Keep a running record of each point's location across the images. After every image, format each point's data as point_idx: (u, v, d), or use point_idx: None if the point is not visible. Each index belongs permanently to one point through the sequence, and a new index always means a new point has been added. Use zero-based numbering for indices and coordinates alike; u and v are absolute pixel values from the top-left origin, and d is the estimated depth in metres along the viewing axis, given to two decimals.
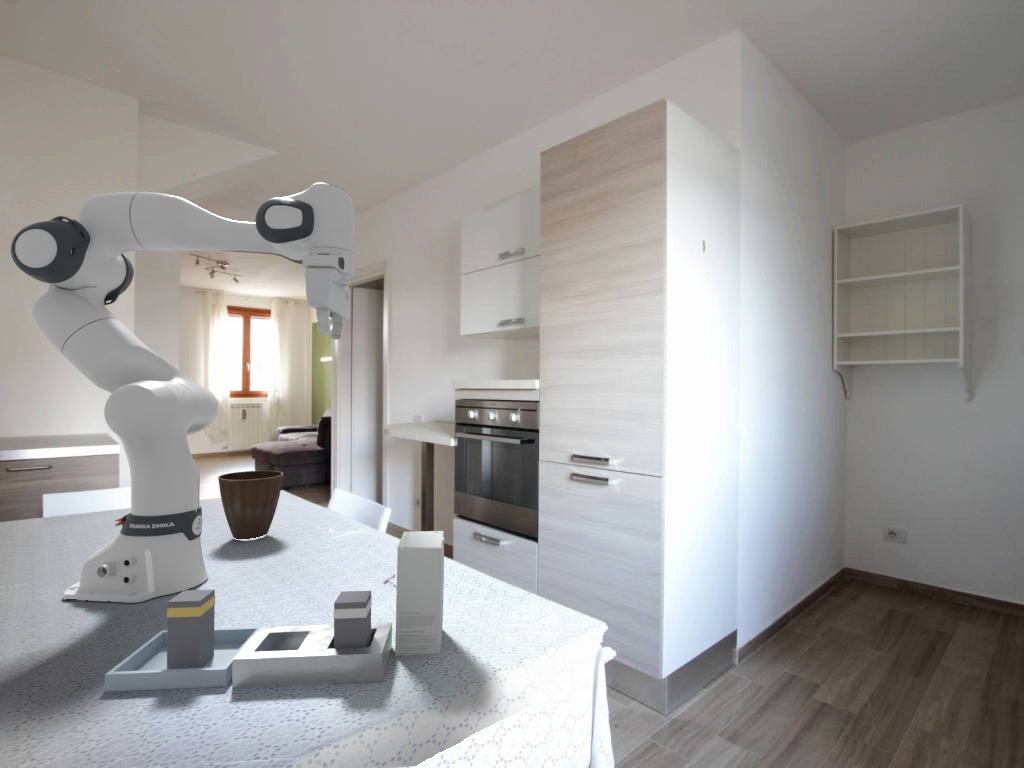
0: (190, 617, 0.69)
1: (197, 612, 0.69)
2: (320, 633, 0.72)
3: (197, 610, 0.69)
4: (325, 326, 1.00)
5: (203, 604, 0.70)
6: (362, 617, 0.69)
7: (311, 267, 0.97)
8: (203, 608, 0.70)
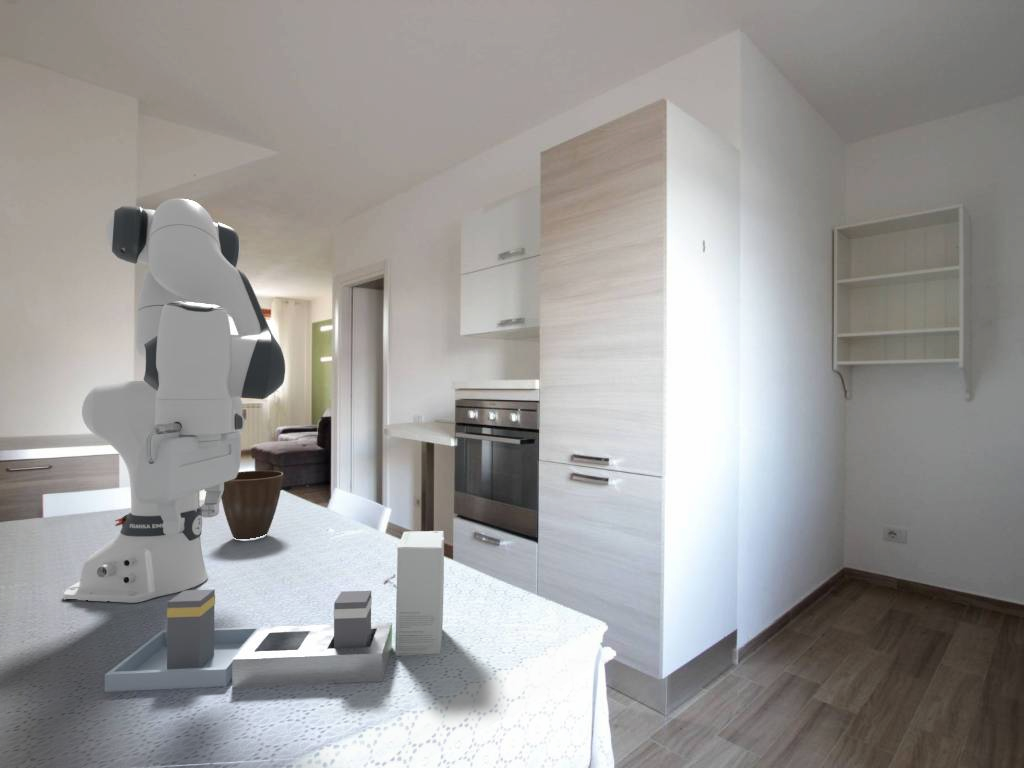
0: (190, 617, 0.69)
1: (197, 612, 0.69)
2: (320, 633, 0.72)
3: (197, 610, 0.69)
4: None
5: (203, 604, 0.70)
6: (362, 617, 0.69)
7: None
8: (203, 608, 0.70)
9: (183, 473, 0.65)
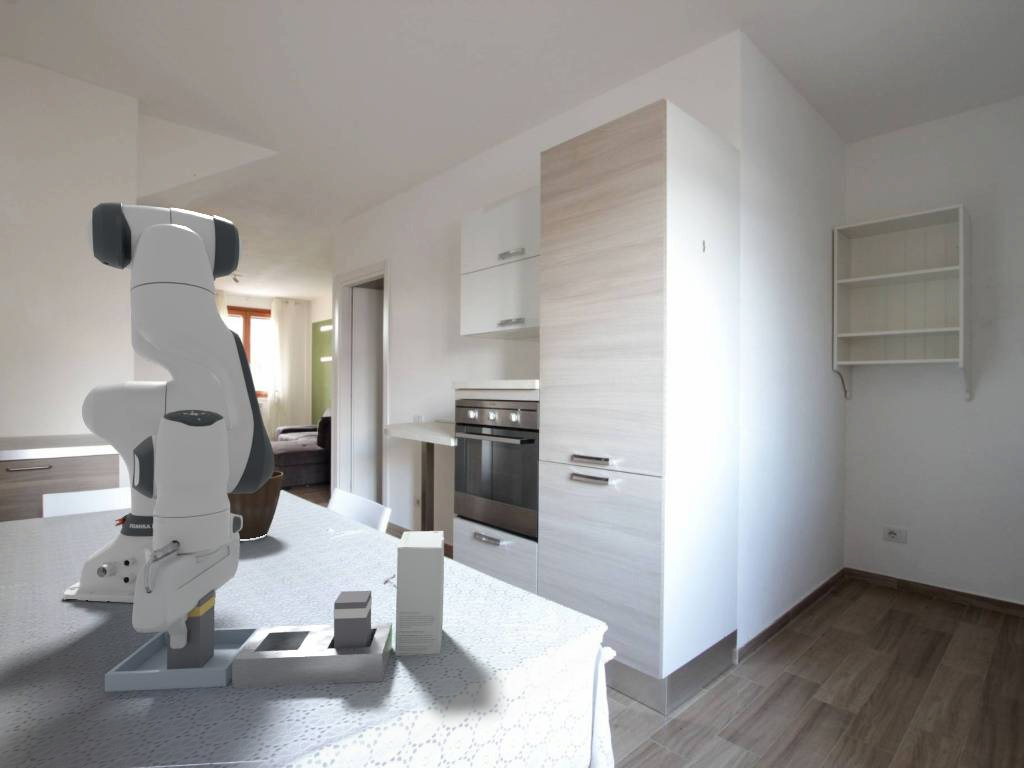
0: (190, 617, 0.69)
1: (197, 612, 0.69)
2: (320, 633, 0.72)
3: (197, 610, 0.69)
4: None
5: (203, 604, 0.70)
6: (362, 617, 0.69)
7: None
8: (203, 608, 0.70)
9: (181, 595, 0.65)
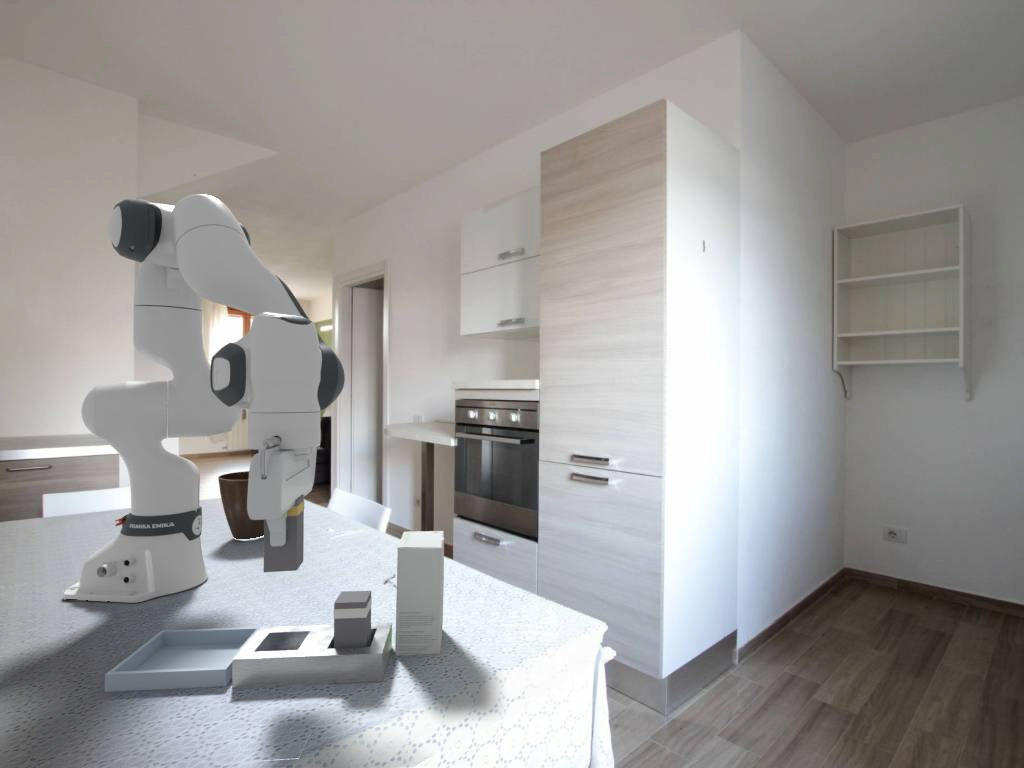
0: (287, 516, 0.68)
1: (294, 511, 0.68)
2: (320, 633, 0.72)
3: (294, 509, 0.68)
4: None
5: (298, 505, 0.69)
6: (362, 617, 0.69)
7: None
8: (299, 509, 0.69)
9: (287, 488, 0.64)
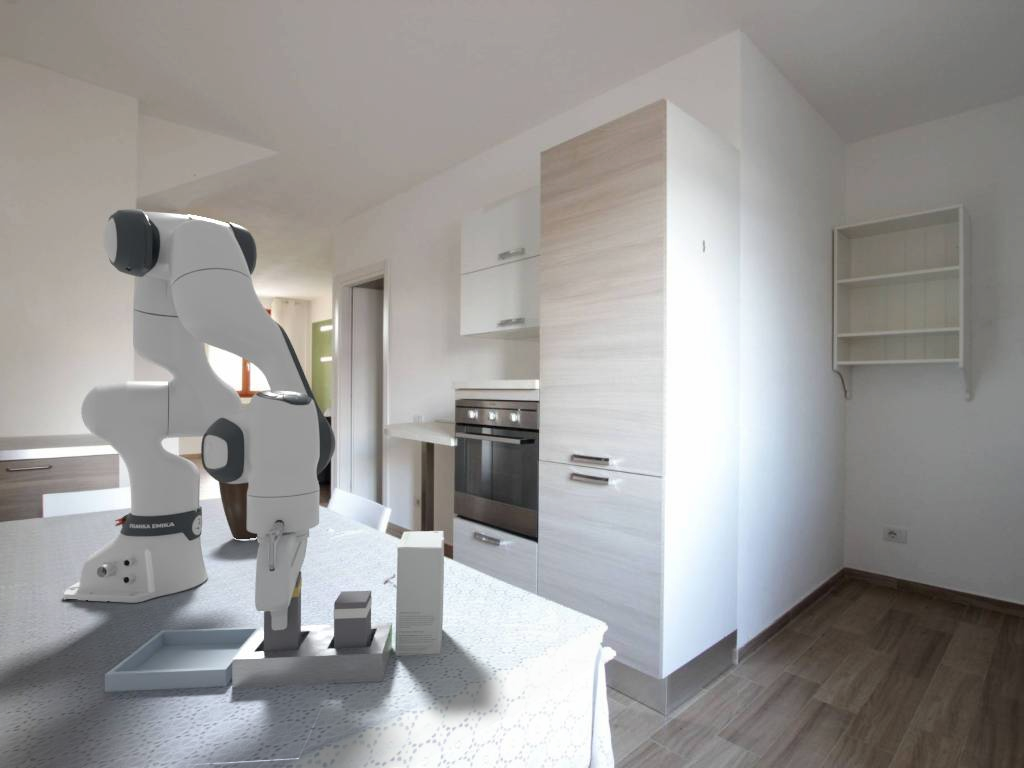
0: None
1: (295, 592, 0.68)
2: (320, 633, 0.72)
3: (295, 590, 0.68)
4: None
5: (298, 585, 0.69)
6: (362, 617, 0.69)
7: None
8: (299, 589, 0.69)
9: (292, 574, 0.64)
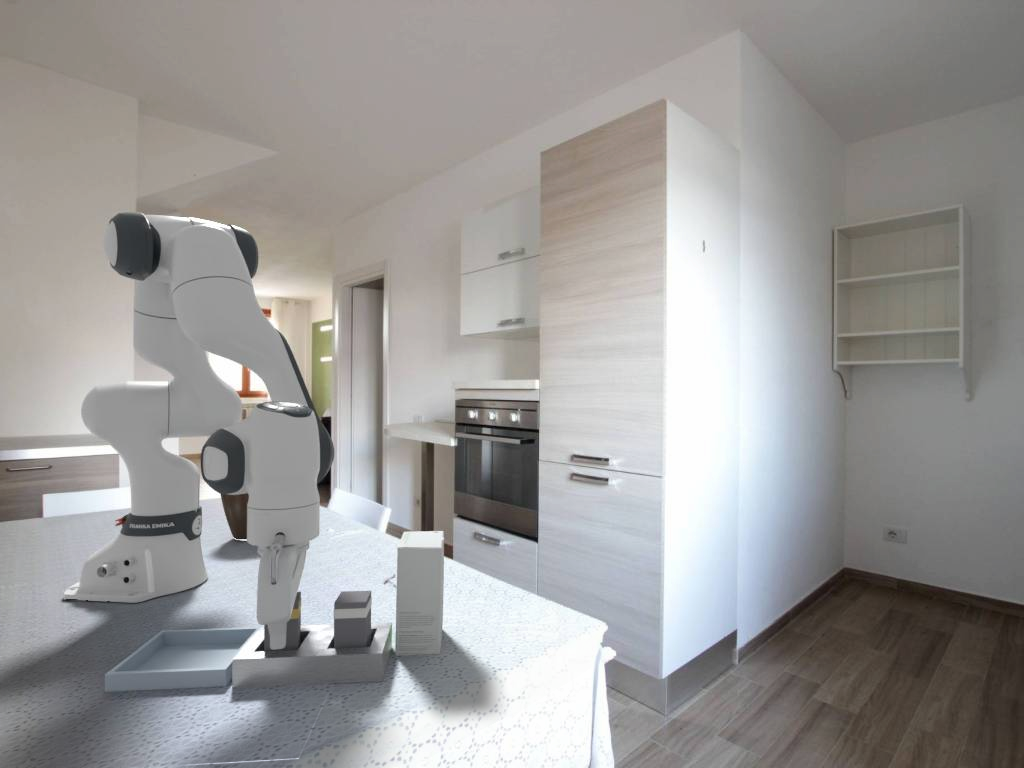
0: None
1: (295, 614, 0.68)
2: (320, 633, 0.72)
3: (295, 612, 0.68)
4: None
5: (298, 606, 0.69)
6: (362, 617, 0.69)
7: None
8: (299, 610, 0.69)
9: (293, 586, 0.64)
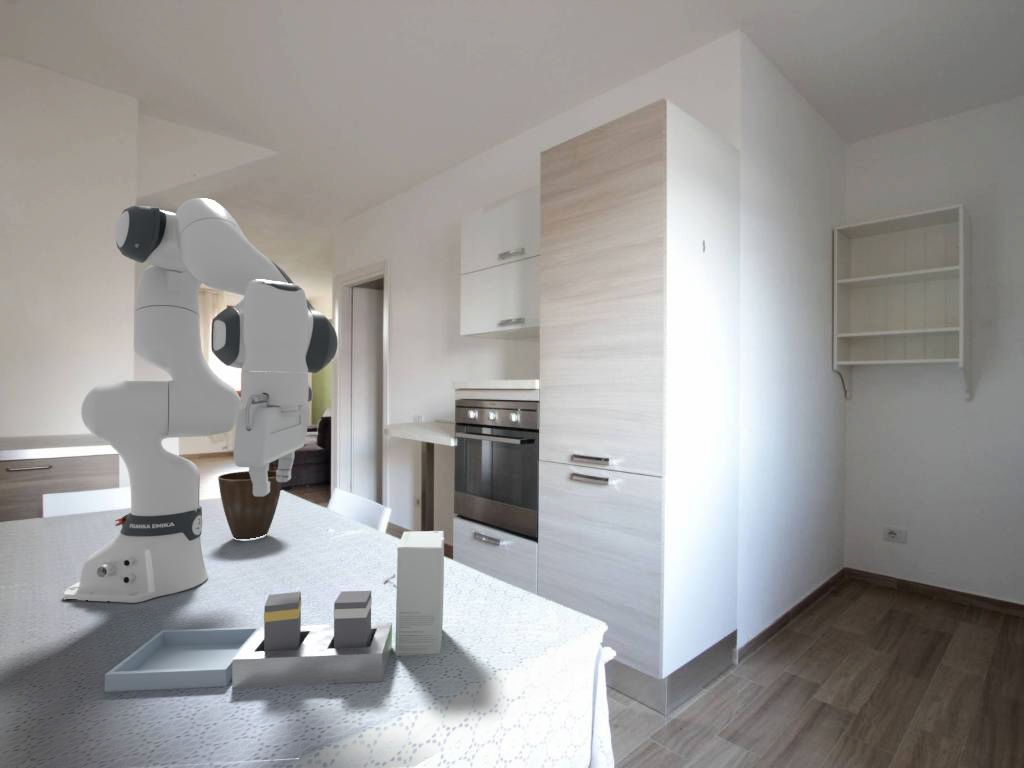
0: (288, 620, 0.68)
1: (295, 614, 0.68)
2: (320, 633, 0.72)
3: (295, 612, 0.68)
4: None
5: (298, 606, 0.69)
6: (362, 617, 0.69)
7: None
8: (299, 610, 0.69)
9: (272, 440, 0.70)
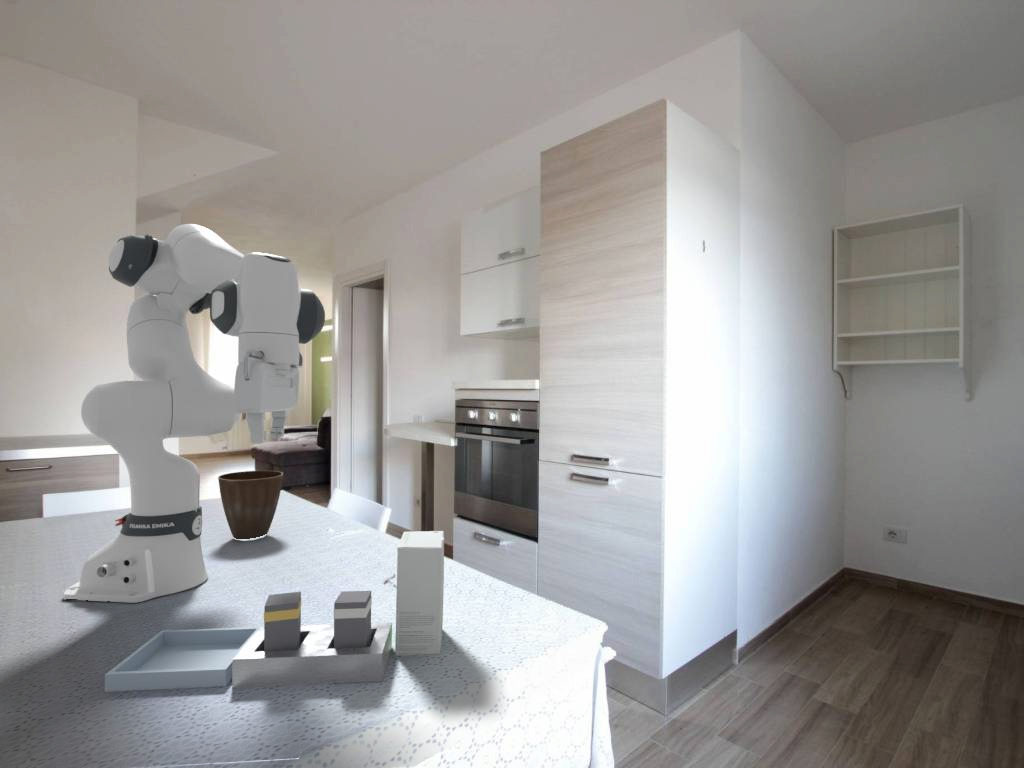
0: (288, 620, 0.68)
1: (295, 614, 0.68)
2: (320, 633, 0.72)
3: (295, 612, 0.68)
4: None
5: (298, 606, 0.69)
6: (362, 617, 0.69)
7: None
8: (299, 610, 0.69)
9: (268, 392, 0.79)
